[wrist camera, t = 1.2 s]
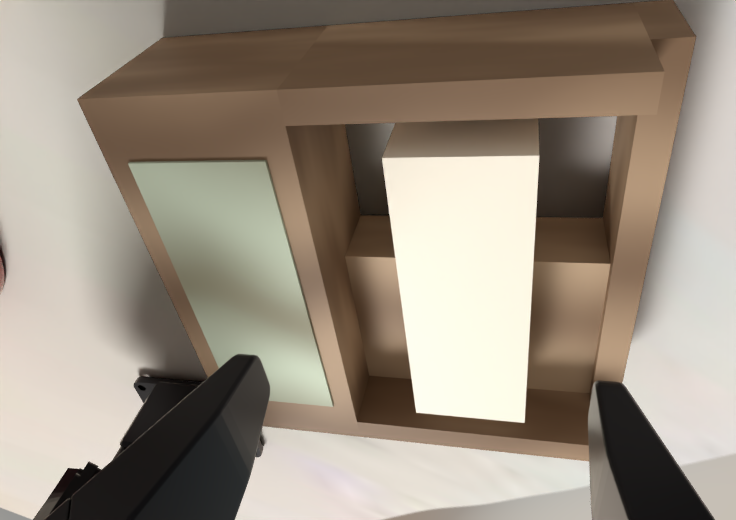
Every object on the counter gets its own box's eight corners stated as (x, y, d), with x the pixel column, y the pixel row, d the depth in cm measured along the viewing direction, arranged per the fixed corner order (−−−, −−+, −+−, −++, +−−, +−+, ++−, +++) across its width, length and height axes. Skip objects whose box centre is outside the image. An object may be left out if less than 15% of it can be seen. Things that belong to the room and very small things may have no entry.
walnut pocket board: (606, 361, 25) (620, 466, 21) (267, 339, 29) (227, 424, 25) (672, -1, 16) (718, 70, 12) (162, 37, 20) (75, 100, 16)
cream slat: (524, 372, 23) (524, 422, 21) (424, 364, 24) (416, 412, 22) (538, 112, 16) (539, 155, 14) (397, 117, 17) (381, 157, 15)
